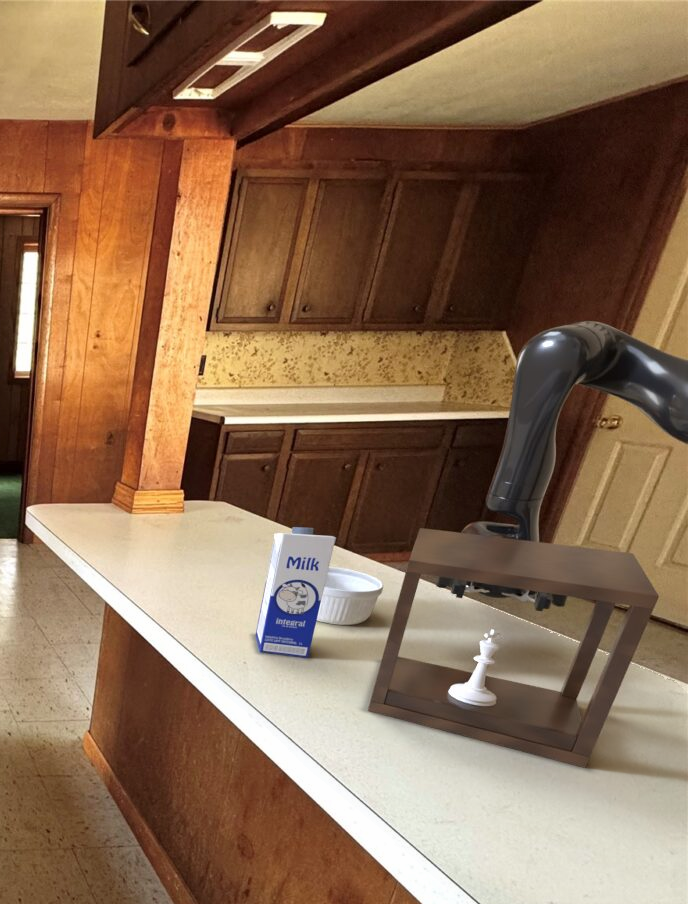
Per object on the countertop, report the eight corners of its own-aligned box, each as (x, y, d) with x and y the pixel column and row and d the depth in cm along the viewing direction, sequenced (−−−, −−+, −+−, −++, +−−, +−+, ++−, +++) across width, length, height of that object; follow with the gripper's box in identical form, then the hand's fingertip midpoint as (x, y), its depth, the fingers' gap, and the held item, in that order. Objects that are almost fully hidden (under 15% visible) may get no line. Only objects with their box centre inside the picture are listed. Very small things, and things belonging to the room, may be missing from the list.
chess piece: (505, 706, 87) (531, 637, 83) (467, 706, 87) (491, 637, 83) (475, 687, 91) (498, 621, 88) (439, 688, 91) (460, 622, 88)
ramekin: (393, 622, 116) (403, 585, 113) (334, 633, 112) (343, 595, 110) (326, 596, 127) (334, 562, 125) (271, 605, 124) (278, 571, 121)
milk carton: (258, 652, 106) (282, 532, 99) (254, 635, 112) (276, 521, 105) (309, 658, 104) (337, 536, 97) (301, 640, 110) (327, 524, 102)
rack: (571, 704, 89) (633, 553, 81) (585, 768, 77) (659, 596, 69) (382, 662, 102) (420, 527, 94) (367, 710, 89) (409, 560, 81)
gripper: (447, 538, 107) (443, 563, 96) (569, 552, 99) (580, 583, 87) (435, 581, 110) (429, 611, 99) (552, 599, 101) (561, 634, 90)
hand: (500, 598), depth 93 cm, fingers open, 8 cm apart
